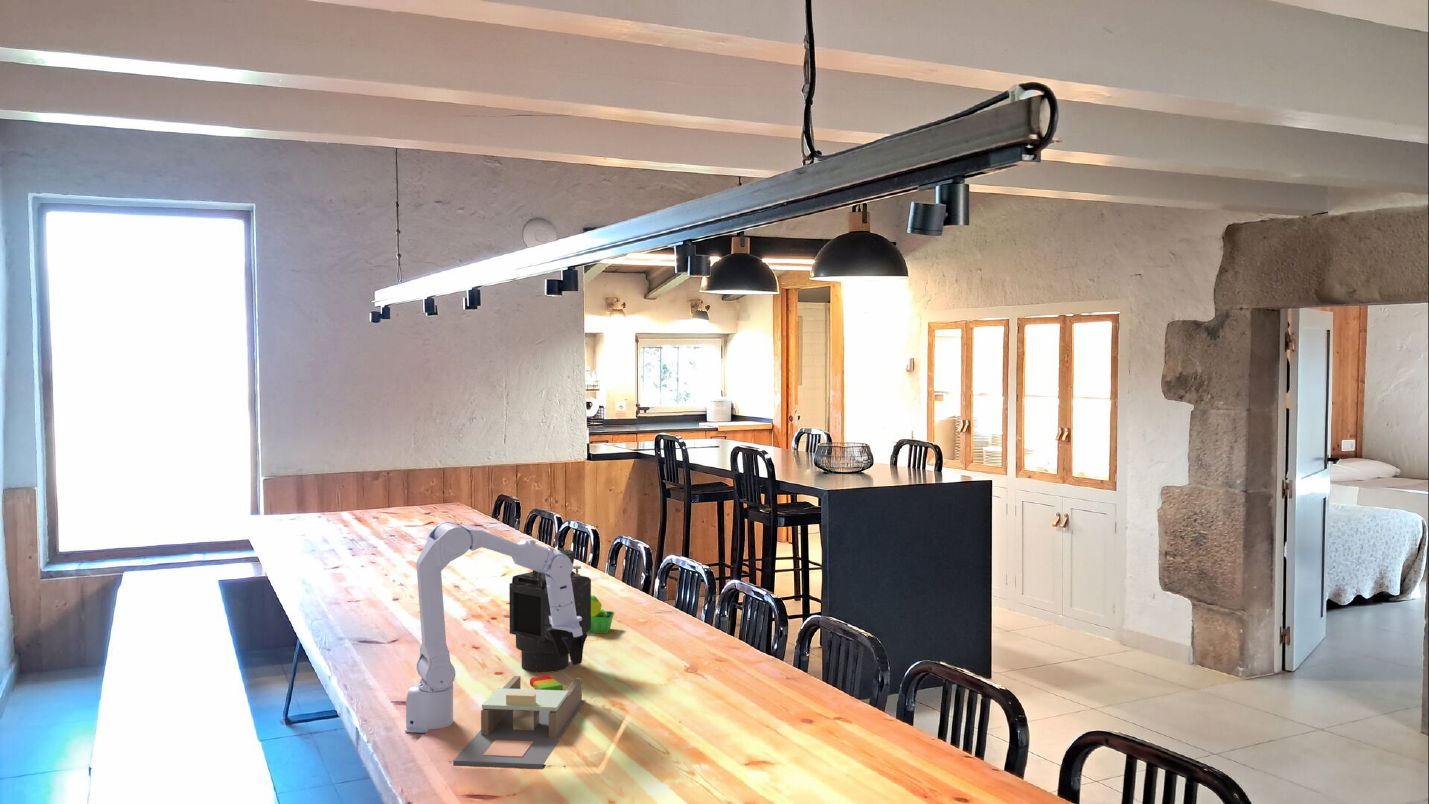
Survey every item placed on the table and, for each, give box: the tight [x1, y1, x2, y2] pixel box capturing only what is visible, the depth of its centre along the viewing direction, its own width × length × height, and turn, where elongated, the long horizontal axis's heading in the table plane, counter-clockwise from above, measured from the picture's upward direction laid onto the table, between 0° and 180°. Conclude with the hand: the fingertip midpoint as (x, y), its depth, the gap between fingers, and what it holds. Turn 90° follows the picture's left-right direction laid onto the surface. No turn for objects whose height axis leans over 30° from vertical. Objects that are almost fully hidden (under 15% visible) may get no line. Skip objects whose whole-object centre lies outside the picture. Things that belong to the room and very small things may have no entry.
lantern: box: [508, 549, 592, 674], centre depth 263 cm, size 15×18×30 cm
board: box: [452, 675, 586, 770], centre depth 216 cm, size 18×38×6 cm, turn 175°
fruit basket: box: [587, 594, 615, 634], centre depth 299 cm, size 11×9×11 cm
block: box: [513, 710, 539, 730], centre depth 217 cm, size 4×4×5 cm
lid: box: [481, 687, 569, 711], centre depth 217 cm, size 16×11×3 cm
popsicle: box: [529, 675, 563, 690], centre depth 244 cm, size 6×15×2 cm, turn 29°
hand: (570, 659), depth 233 cm, fingers open, 7 cm apart
